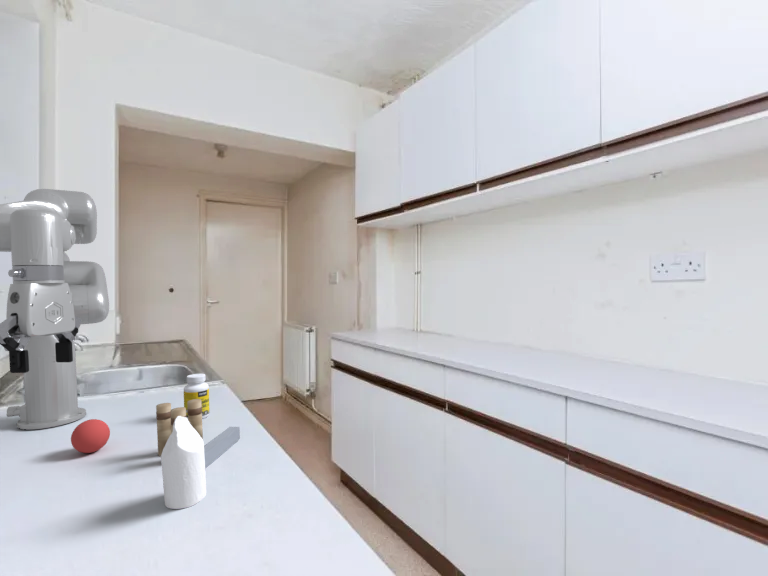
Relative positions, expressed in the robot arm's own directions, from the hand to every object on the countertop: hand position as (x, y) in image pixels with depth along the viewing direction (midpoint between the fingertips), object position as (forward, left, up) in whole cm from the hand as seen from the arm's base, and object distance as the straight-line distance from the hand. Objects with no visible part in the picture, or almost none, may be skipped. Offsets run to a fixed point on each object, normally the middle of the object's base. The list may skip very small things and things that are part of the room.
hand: (43, 366), depth 78 cm
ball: (+9, -3, -13) cm, 16 cm away
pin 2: (+28, -8, -16) cm, 33 cm away
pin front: (+23, -8, -16) cm, 29 cm away
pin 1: (+26, -12, -16) cm, 33 cm away
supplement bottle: (+24, +12, -16) cm, 32 cm away
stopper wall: (+32, -12, -16) cm, 38 cm away
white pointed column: (+30, -27, -16) cm, 44 cm away
